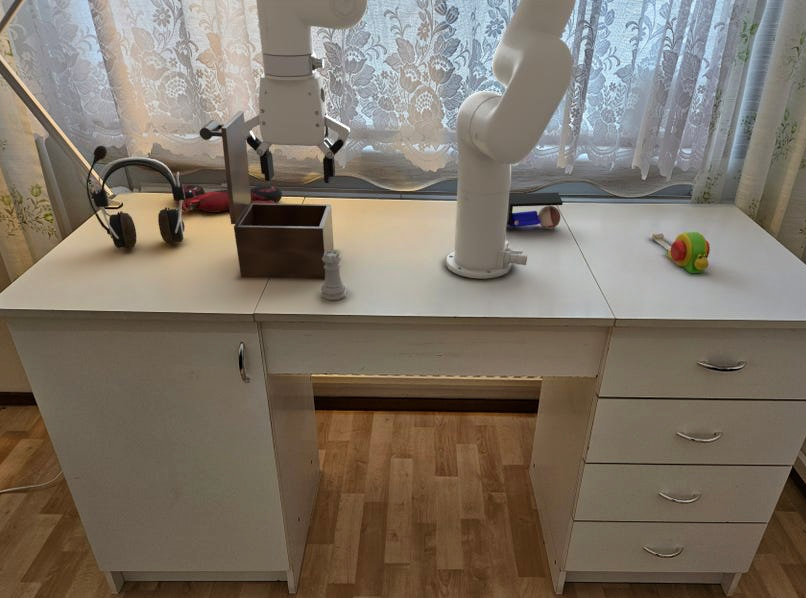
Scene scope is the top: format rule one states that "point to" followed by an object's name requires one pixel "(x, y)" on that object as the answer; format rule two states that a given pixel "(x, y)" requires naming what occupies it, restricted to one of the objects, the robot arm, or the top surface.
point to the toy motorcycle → (225, 197)
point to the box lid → (233, 162)
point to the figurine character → (546, 216)
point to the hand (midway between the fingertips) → (299, 179)
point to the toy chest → (284, 240)
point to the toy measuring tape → (687, 250)
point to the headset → (122, 222)
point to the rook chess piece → (332, 277)
